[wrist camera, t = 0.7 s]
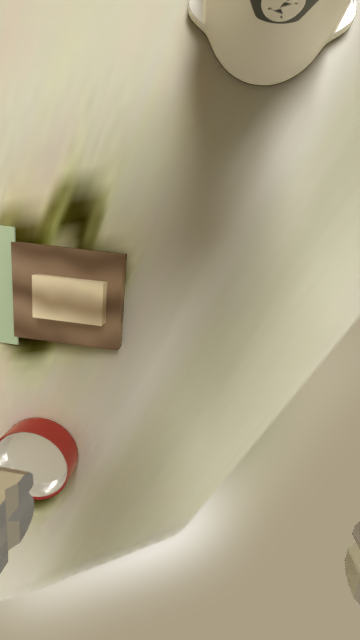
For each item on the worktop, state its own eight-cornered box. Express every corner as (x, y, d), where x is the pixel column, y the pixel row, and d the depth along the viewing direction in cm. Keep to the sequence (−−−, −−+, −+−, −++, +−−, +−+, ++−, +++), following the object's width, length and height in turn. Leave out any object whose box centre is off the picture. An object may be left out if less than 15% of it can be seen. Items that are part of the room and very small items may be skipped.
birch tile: (38, 273, 43) (31, 275, 42) (107, 282, 43) (103, 283, 41) (39, 314, 45) (32, 317, 43) (105, 322, 44) (101, 326, 43)
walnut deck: (19, 241, 44) (10, 241, 42) (126, 254, 44) (123, 254, 42) (21, 332, 48) (14, 336, 46) (121, 345, 47) (117, 350, 45)
